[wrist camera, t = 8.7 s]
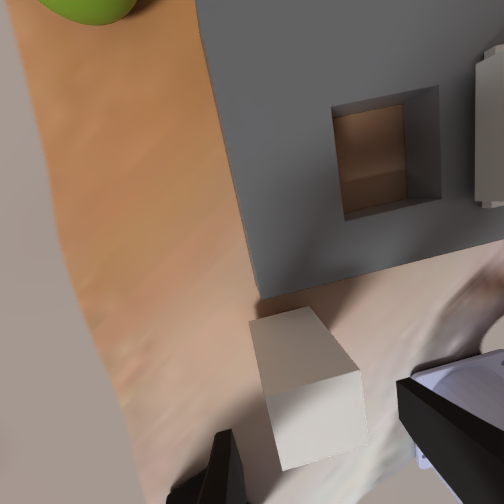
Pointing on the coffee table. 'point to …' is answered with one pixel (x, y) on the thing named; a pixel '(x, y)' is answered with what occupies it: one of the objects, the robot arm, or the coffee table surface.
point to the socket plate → (340, 104)
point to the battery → (188, 491)
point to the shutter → (490, 129)
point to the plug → (308, 388)
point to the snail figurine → (91, 10)
